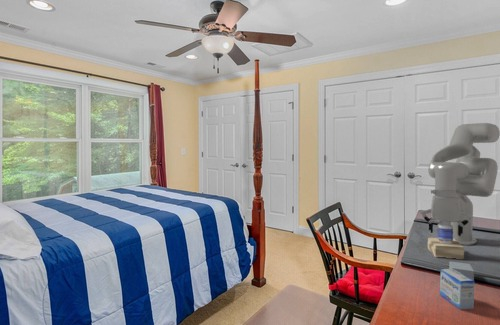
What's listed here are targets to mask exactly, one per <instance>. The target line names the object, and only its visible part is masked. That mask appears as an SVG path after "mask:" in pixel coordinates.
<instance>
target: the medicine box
mask: <svg viewBox="0 0 500 325" xmlns="http://www.w3.org/2000/svg"><path fill="white" fill-rule="evenodd" d="M439 278H440V281H439V282H440V284H439V286H440V287H439V296H441V297H442V299H444V300H446V301H447V302H449V303H450V304H452V305H453V306H454V307H456V308H457V309H459V310H461V311H462V310H473V309H474V308H475V307H474V306H475V279H474V280H472V279H470V278H468V277H466V276H465V275H463V274H461V273H459V272H458V271H456V270H454V269H449V268H443V269H440V277H439Z"/></svg>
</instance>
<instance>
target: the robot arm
mask: <svg viewBox="0 0 500 325" xmlns="http://www.w3.org/2000/svg"><path fill="white" fill-rule="evenodd" d="M499 138H500V129H499V127H498V125H496V124H494V123H489V122H479V123H477V122H476V123H465V124H460V125H458V126H457V127H455V130H454V131H453V133H452V137H451V139H450V143H449V145H447V146H445V147H443V148H442V149H440V150H438V151H437V152H435V153H434V154H433V156H432V158H431V160H430V163H429V166H428V171H427V172H428V175H429V176H430V177H431V178H433V179H434V189H433V190H432V189H430V193H431V194H433V196H432V199H431V207H430V208H428V209H426V210H424V211H423V210H422V211H421V212H420V213H421V216H422V217H423V219H424V220H425V221H426V222H427V223H428V231H430V234H432V233H433V231H434V225H433V224H434V221H438V222H439V221H446V222H451V224H450V225H452V226H453V239H455V240H456V241H457V242H458V243H460V244H461V245H462V246H463V245H465V246H471V245H475V244H477V242H478V241H477V239H476V238H474V237H473V230H474V229H473V226H474V225H473V224H474V223H473V222H474V221H473V219H474V205H473V203H472V201H471V199H470V198H469V196H472V197H481V198H483V197H484V198H488V197H490V196H491V195H493V192H494V190H495V185H496V181H497V177H498V176H497V175H498V167H499V166H498V163H497V161H496V160H495V159H493V158H490V157H481V152H480V151H479V148H477V147H476V146H475V145H474V144H483V143H484V144H485V143H487V144H491V143H493V144H494V143H496V142H497V141H498V140H499ZM451 160H456V161H455V162H451ZM448 161H449V162H448ZM427 214H430V218H429V217H428V216H427Z"/></svg>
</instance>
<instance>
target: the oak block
mask: <svg viewBox="0 0 500 325" xmlns="http://www.w3.org/2000/svg"><path fill="white" fill-rule="evenodd" d="M427 249H428V250H429V252H431V254H432V255H433V256H434V257H435V258H438V257H446V258H445V259H452V258H456V259H457V260H464V259H465V247H464V246H463V245H462V244H460V243H458V242H457V241H456V240H455V239H453V243H452V244H443V243H440V242H438V237H427ZM456 259H455V260H456Z"/></svg>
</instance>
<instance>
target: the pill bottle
mask: <svg viewBox="0 0 500 325" xmlns="http://www.w3.org/2000/svg"><path fill="white" fill-rule="evenodd" d="M438 222H439V223H438V224H437V238H438V242H440V243H443V244H452V243H453V226H452V225H450V224H451V222H446V221H438Z"/></svg>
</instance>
